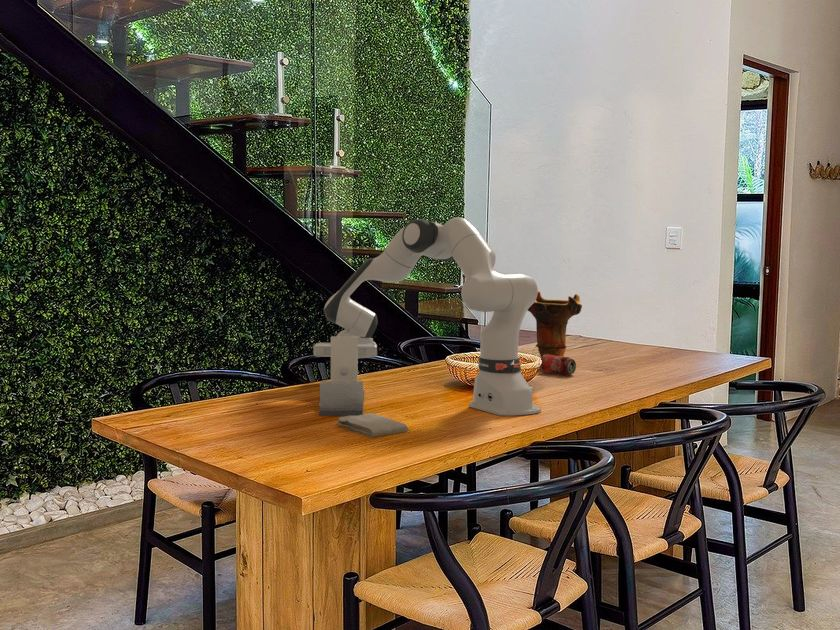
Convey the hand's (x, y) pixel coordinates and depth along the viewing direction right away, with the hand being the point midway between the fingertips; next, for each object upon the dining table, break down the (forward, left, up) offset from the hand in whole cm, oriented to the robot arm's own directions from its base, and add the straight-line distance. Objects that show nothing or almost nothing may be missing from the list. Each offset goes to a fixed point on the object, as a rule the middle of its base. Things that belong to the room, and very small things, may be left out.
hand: (344, 353), depth 277 cm
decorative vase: (+38, -98, -13) cm, 106 cm away
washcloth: (-47, +8, -14) cm, 49 cm away
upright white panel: (-7, +4, -11) cm, 13 cm away
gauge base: (-16, +5, -13) cm, 21 cm away
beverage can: (+10, -84, -13) cm, 85 cm away
